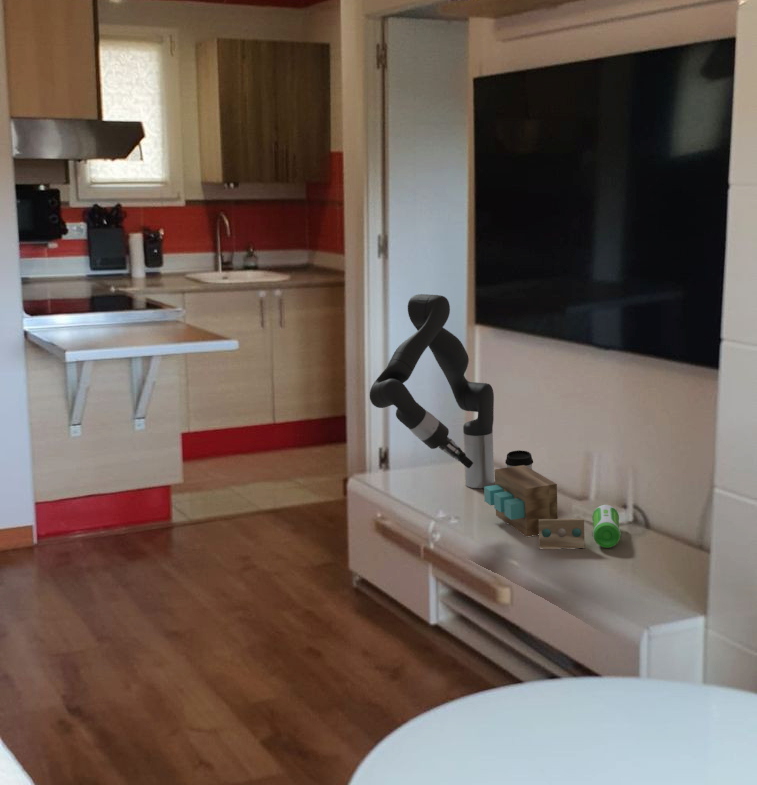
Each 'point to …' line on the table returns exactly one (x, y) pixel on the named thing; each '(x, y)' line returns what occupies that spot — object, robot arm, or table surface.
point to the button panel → (528, 497)
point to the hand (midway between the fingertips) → (470, 465)
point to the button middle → (501, 500)
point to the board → (561, 533)
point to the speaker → (606, 526)
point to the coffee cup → (519, 459)
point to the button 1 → (491, 493)
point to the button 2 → (514, 508)
